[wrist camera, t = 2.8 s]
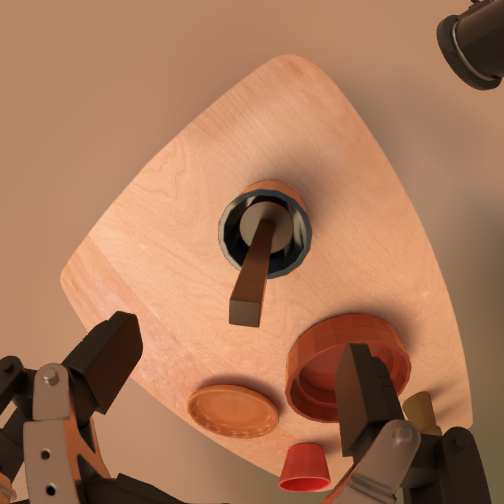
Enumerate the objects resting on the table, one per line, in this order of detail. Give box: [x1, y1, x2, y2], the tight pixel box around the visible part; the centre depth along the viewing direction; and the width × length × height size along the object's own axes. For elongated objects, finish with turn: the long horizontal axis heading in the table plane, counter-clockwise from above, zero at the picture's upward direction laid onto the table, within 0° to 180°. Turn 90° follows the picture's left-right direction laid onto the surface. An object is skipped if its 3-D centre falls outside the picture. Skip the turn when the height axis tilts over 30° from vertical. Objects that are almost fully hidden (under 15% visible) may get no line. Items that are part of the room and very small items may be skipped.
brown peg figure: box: [402, 392, 442, 436], centre depth 34 cm, size 6×6×11 cm
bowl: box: [285, 314, 411, 423], centre depth 33 cm, size 17×17×6 cm
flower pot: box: [279, 443, 331, 492], centre depth 42 cm, size 11×11×10 cm
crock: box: [218, 180, 312, 279], centre depth 26 cm, size 8×8×8 cm
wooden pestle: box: [229, 195, 294, 327], centre depth 21 cm, size 5×5×19 cm
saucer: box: [187, 385, 279, 439], centre depth 41 cm, size 16×16×3 cm
